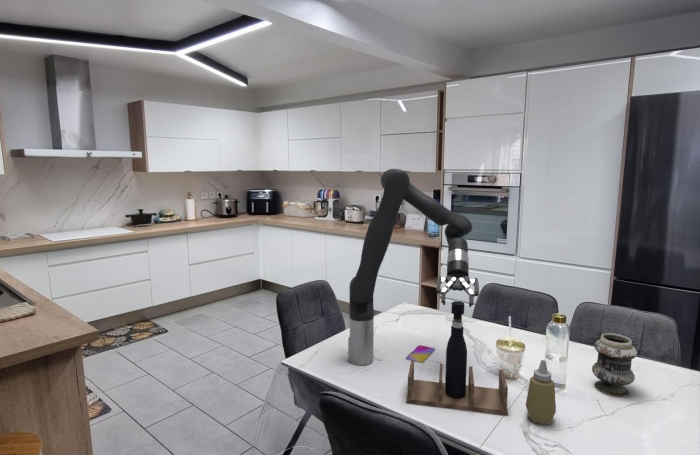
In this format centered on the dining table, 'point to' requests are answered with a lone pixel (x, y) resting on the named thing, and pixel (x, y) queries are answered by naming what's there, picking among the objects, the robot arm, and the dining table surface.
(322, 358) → the dining table surface
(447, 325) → the dining table surface
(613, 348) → the apothecary jar
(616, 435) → the dining table surface
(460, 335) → the black bottle
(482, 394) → the slot rack
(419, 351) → the smartphone
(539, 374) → the squeeze bottle
